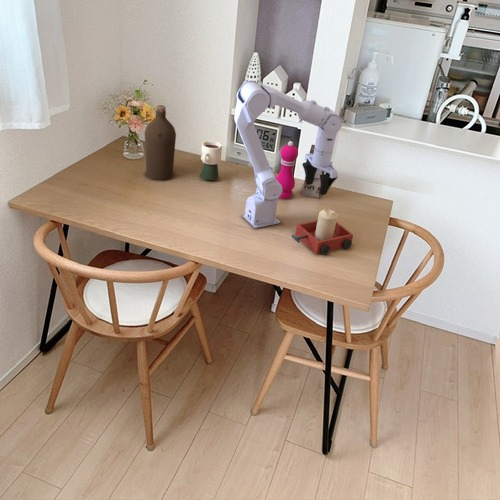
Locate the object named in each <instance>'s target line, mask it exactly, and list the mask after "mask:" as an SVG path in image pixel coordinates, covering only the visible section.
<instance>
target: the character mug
mask: <svg viewBox="0 0 500 500" xmlns="http://www.w3.org/2000/svg"><path fill="white" fill-rule="evenodd" d="M200 150H201V156H200V160H201V162H202V163H203V164H202V169H201V173H200V178H201V179H204V180H207V181H216V180H218V179H219V164H221V161H222V152H223V145H222V143H220V142H218V141H213V140H205V141H203V142H202V143H201V149H200Z"/></svg>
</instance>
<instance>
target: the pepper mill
mask: <svg viewBox="0 0 500 500" xmlns="http://www.w3.org/2000/svg"><path fill="white" fill-rule="evenodd" d="M279 153H280V157H281V158H280V163H281V167H280V171H279V172H278V174H277V176H275V178H276V180H277V181H278V182H279V183H280V184H281V186H282V194H281V195H280V196H279V197H278V199H282V200H288V199H291V198H292V196H293V190H294V189H295V187H296V180H295V177H294V166H295V165H296V159H297V158H298V156H299V150H298V147H296V146H295V145H294V142H293V141H291V140H289V141H288V143H287V144H286V145H285V144H284V146H283V147H282V148H281V150H280V151H279Z"/></svg>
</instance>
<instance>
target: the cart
mask: <svg viewBox="0 0 500 500" xmlns="http://www.w3.org/2000/svg"><path fill="white" fill-rule="evenodd" d="M317 222H318V219H316V220H312V221H307V222H303V223H298V224H296V230H295V234H294V236H295V237H300V236H304V235H308V238H303V239H299V240H300V242H302V243H303V244H304V245H305V246H306V247H308V248H309V249H310V250H311V251H312V252H313V253H314V254H316V255H318V254H322V253H321V252H320V249H321V247H322V246H323V245H325V244H326V245H328V246H329V247H330V250H329V252H331V251H334V250H338V249H342V248H343V247H342V244H343V242H344V241H345V240H347V239H349V240H350V241H351V242H352V243H353V239H354V238H353V237H354V234H353V233H352V232H351V231H350V230H348V229H347V228H346V227H345V226H343V225H342V224H340V223H339V222H337V221H336V225H335V230H334V234H333V238H332V239H328V240H323V241H318V240H317V239H316V238H315V232H316V227H317ZM343 249H344V248H343Z"/></svg>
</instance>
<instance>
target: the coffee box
mask: <svg viewBox="0 0 500 500" xmlns="http://www.w3.org/2000/svg"><path fill="white" fill-rule="evenodd" d="M314 148H315V144H311V146H310V150H309V153H308V154H312V155H313V154H314ZM322 174H325V172H324V171H322V170H320V169H317V171H316V174H315V177H314V181H313V184H310V185H307V184H306V176H304V181H303V187H302V192H301V194H302V195H301V196H307V197H312V198H317V199H319V198H320V196H321V195H320V187H321V180H320V175H322Z"/></svg>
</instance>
